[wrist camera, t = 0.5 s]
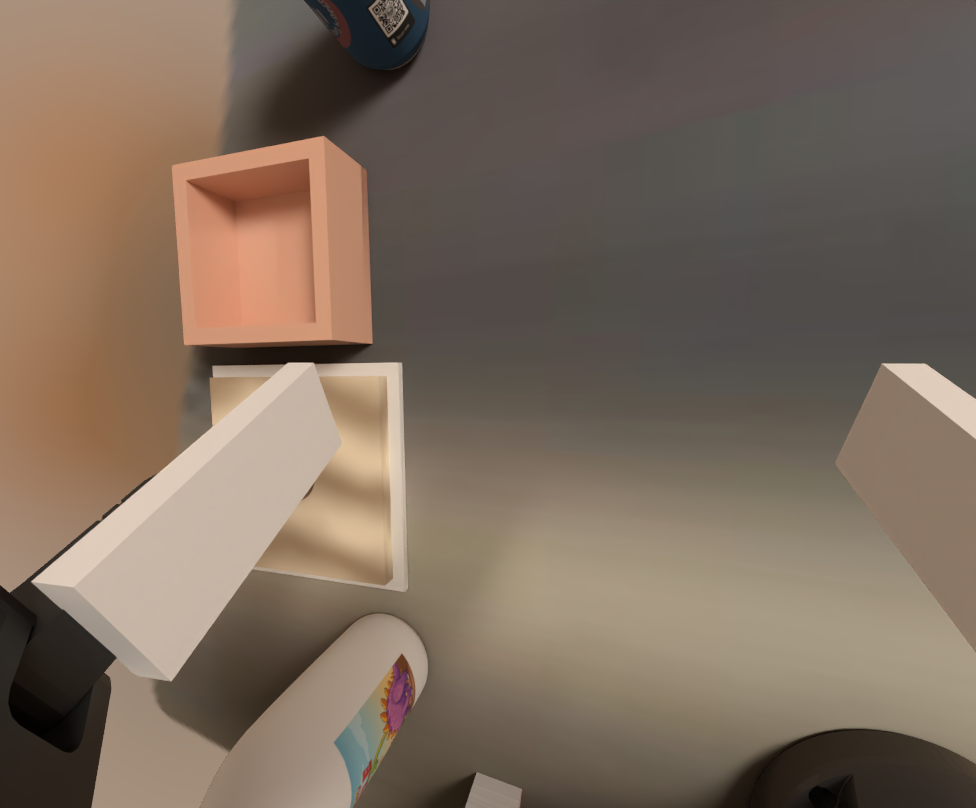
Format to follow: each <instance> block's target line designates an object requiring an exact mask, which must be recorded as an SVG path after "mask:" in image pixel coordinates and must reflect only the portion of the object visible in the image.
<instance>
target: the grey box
mask: <svg viewBox="0 0 976 808" xmlns="http://www.w3.org/2000/svg"><path fill="white" fill-rule="evenodd" d="M521 795H522V789H520V788H518V787H515V786H512V785H510V784H507V783H504V782H502V781H499V780H496V779H494V778H491V777H488V776H486V775H483V774H480V773H478V772H477V773H476V776H475V779H474V782H473V785H472V788H471V791H470V794H469V797H468V800H467V803H466V806H465V808H520V804H521Z"/></svg>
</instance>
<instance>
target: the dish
mask: <svg viewBox="0 0 976 808" xmlns="http://www.w3.org/2000/svg"><path fill="white" fill-rule="evenodd" d="M172 174H173V188H174V203H175V217H176V232H177V247H178V261H179V276H180V290H181V304H182V319H183V332H184V333H183V334H184V345H191V346H209V347H228V348H261V347H292V346H323V345H355V344H373V343H372V313H371V283H370V253H369V223H368V193H367V170H365V169H364V168H363V167H362V166H360V165H359V164H358V163H357V162H355V161H354V160H353V159H352V158H351V157H349V156H348V155H347V154H346V153H344V152H343V151H342V150H341V149H339V148H338V147H337V146H336V145H334V144H333V143H332V142H331V141H329V140H328V139H327V138H326V137H324V136H321V137H316V138H310V139H305V140H300V141H295V142H290V143H285V144H280V145H274V146H269V147H264V148H259V149H254V150H249V151H243V152H238V153H233V154H228V155H223V156H218V157H213V158H207V159H202V160H198V161H192V162H187V163H182V164H177V165H172Z"/></svg>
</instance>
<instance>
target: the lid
mask: <svg viewBox="0 0 976 808" xmlns="http://www.w3.org/2000/svg"><path fill="white" fill-rule="evenodd" d="M270 378H271V377H213V378H210V392H211V408H212V423H213V426H214V425H216V424H217V423H218V422H219V421H220V420H222V419H223V418H224V417H225V416H226V415H227V414H229V413H230V412H231V411H232V410H233V409H234V408H236V407H237V406H238V405H239V404H240V403H241V402H243V401H244V400H245V399H246V398H247V397H249V396H250V395H251V394H252V393H253V392H254V391H256V390H257V389H258V388H259V387H260V386H261V385H263V384H264V383H265V382H266V381H267V380H269V379H270ZM319 379H320V382H321V385H322V387H323V390H324V393H325V396H326V399H327V402H328V404H329V407H330V410H331V413H332V416H333V419H334V422H335V424H336V427H337V430H338V433H339V436H340V439H341V441H342V444H341V446H340V447H339V449H338V450H337V451H336V453H335V454H334V456H333V457H332V458H331V460H330V461H329V463H328V464H327V465H326V467H325V468H324V470H323V471H322V472H321V474H320V475H319V476H318V478H317V479H316V481H315V482H314V483H313V485H312V486H311V488H310V489H309V490H308V492H307V493H306V495H305V496H304V497H303V499H302V500H301V502H300V503H299V504H298V506H297V507H296V509H295V510H294V511H293V513H292V514H291V516H290V517H289V518H288V520H287V521H286V522H285V524H284V525H283V527H282V528H281V529H280V531H279V532H278V534H277V535H276V536H275V538H274V539H273V541H272V542H271V543H270V545H269V546H268V548H267V549H266V550H265V552H264V553H263V555H262V556H261V557H260V559H259V560H258V562H257V563H256V564H255V567H262V568H269V569H276V570H282V571H289V572H296V573H303V574H310V575H316V576H323V577H330V578H337V579H343V580H350V581H357V582H364V583H371V584H377V585H384V586H385V585H386V584H388V583H389V582H390V581H391V580H392V579H393V561H392V529H391V497H390V464H389V432H388V399H387V376H324V377H319Z"/></svg>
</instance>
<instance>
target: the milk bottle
mask: <svg viewBox="0 0 976 808" xmlns="http://www.w3.org/2000/svg"><path fill="white" fill-rule="evenodd" d="M427 675H428V659H427V653H426V650H425V647H424V645H423V643H422V641H421V639H420V637H419V636H418V634H417V633H416V632H415V631H414V629H413V628H412V627H410V626H409V625H408V624H407V623H406V622H404V621H403V620H401V619H400V618H398V617H395V616H393V615H389V614H384V613H375V614H371V615H367V616H364V617H362V618H360V619H358V620H357V621H356V622H355V623H353V624H352V625H351V626H350V627H349V628H348V629H347V630H346V631H345V632H344V633H343V634H342V635H341V636H340V637H339V638H338V639H337V640H336V641H335V642H334V643H333V644H332V645H331V646H330V647H329V648H328V649H327V650H326V651H325V652H324V653H323V654H322V655H321V656H320V657H319V658H317V659H316V660H315V661H314V662H313V663H312V664H311V665H310V666H309V667H308V668H307V669H306V670H305V671H304V672H303V673H302V674H301V675H300V676H299V677H298V678H297V679H296V680H295V681H294V682H293V683H292V684H291V685H290V686H289V687H288V688H287V689H286V690H285V691H284V692H283V693H282V695H281V696H280V697H279V698H278V699H277V700H276V701H275V702H274V703H273V704H272V705H271V706H270V707H269V708H268V709H267V710H266V711H265V712H264V713H263V714H262V715H261V716H260V717H259V718H258V719H257V720H256V721H255V723H254V724H253V725H252V726H251V727H250V728H249V729H248V730H247V731H246V732H245V733H244V735H243V736H242V737H241V738H240V740H239V741H238V742H237V743H236V745H235V746H234V747H233V748H232V750H231V751H230V753H229V754H228V756H227V757H226V759H225V760H224V761H223V763H222V765H221V767H220V768H219V770H218V772H217V773H216V775H215V777H214V779H213V781H212V783H211V785H210V787H209V789H208V791H207V793H206V795H205V797H204V799H203V801H202V804H201V806H200V808H353V807H354V805H355V804H356V802H357V801H358V799H359V797H360V796H361V794H362V792H363V791H364V789H365V787H366V786H367V784H368V782H369V781H370V779H371V777H372V776H373V774H374V772H375V771H376V769H377V767H378V766H379V764H380V762H381V761H382V759H383V757H384V756H385V754H386V752H387V750H388V749H389V747H390V745H391V744H392V742H393V740H394V739H395V737H396V735H397V733H398V732H399V730H400V728H401V727H402V725H403V723H404V722H405V720H406V718H407V716H408V715H409V713H410V711H411V710H412V708H413V706H414V704H415V703H416V701H417V699H418V697H419V695H420V694H421V692H422V690H423V688H424V686H425V684H426V680H427Z"/></svg>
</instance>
